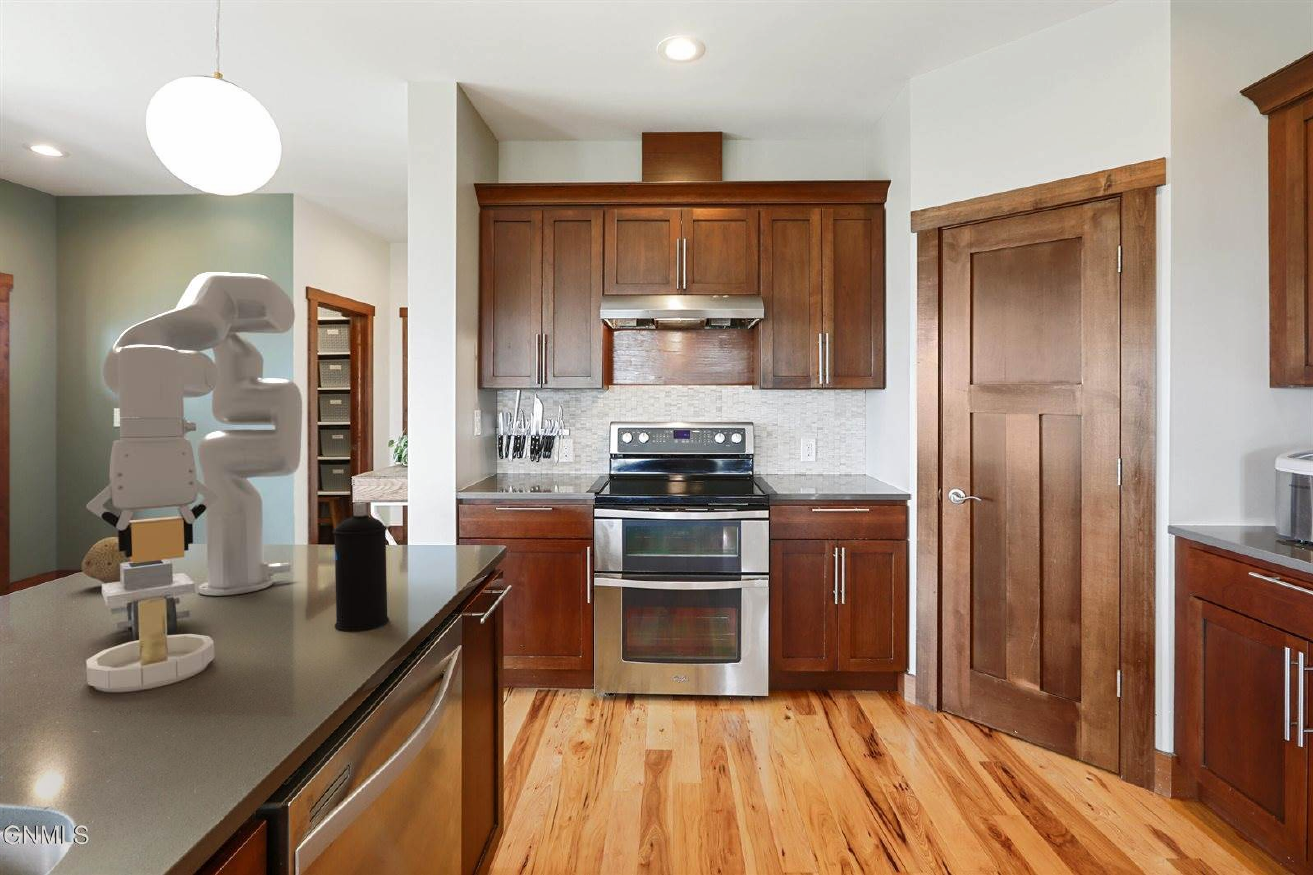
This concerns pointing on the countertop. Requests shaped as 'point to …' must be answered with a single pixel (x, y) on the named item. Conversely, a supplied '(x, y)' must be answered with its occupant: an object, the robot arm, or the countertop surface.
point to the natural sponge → (104, 561)
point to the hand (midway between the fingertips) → (156, 551)
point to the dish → (125, 674)
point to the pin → (152, 631)
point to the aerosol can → (360, 572)
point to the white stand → (147, 592)
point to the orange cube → (157, 539)
